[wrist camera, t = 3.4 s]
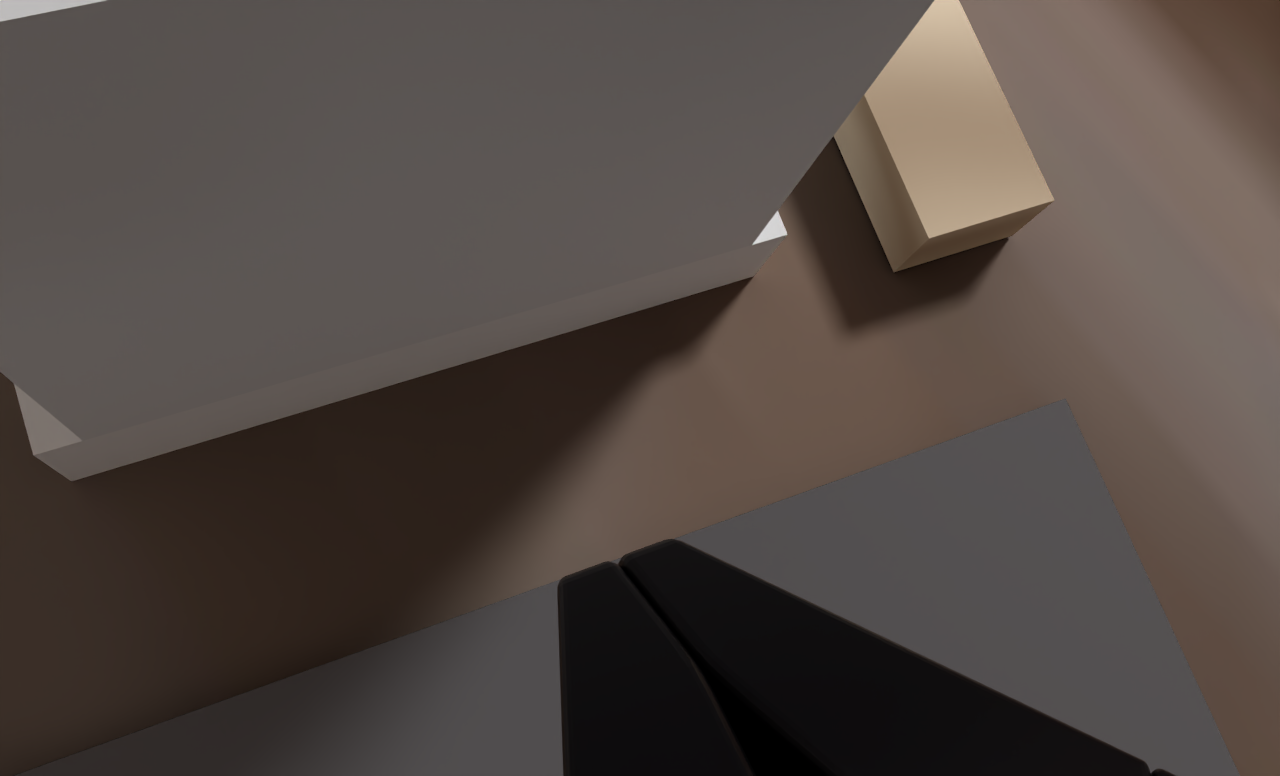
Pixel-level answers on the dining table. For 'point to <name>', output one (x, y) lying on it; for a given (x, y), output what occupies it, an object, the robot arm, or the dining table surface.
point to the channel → (940, 147)
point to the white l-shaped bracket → (379, 188)
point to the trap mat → (801, 564)
